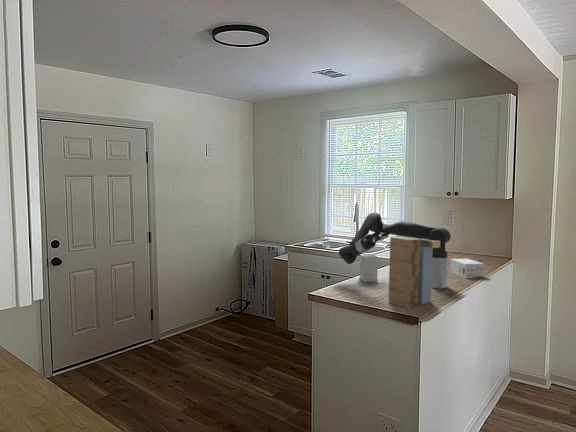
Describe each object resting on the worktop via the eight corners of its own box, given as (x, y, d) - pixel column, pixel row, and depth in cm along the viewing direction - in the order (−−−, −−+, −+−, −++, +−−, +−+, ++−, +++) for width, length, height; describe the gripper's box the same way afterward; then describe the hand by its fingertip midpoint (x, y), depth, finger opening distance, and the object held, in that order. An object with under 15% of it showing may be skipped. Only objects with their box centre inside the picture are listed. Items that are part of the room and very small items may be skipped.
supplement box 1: (374, 278, 265) (374, 254, 264) (377, 281, 256) (378, 256, 255) (359, 278, 264) (359, 254, 263) (362, 281, 255) (362, 256, 254)
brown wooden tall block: (397, 299, 217) (399, 236, 214) (417, 305, 207) (420, 239, 205) (388, 302, 213) (390, 237, 210) (408, 307, 203) (410, 240, 201)
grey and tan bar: (400, 241, 226) (401, 235, 226) (440, 247, 207) (440, 240, 207) (393, 242, 222) (393, 236, 222) (432, 248, 203) (432, 241, 203)
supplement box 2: (449, 272, 284) (450, 258, 283) (467, 272, 287) (468, 258, 286) (464, 278, 268) (465, 263, 267) (483, 277, 270) (484, 263, 269)
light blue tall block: (410, 296, 223) (412, 242, 221) (430, 302, 213) (432, 245, 211) (401, 298, 219) (403, 243, 216) (421, 304, 209) (423, 247, 207)
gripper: (376, 248, 244) (396, 237, 232) (358, 251, 236) (378, 239, 224) (371, 236, 247) (391, 224, 235) (353, 238, 239) (373, 226, 227)
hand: (384, 231), depth 230 cm, fingers open, 8 cm apart
